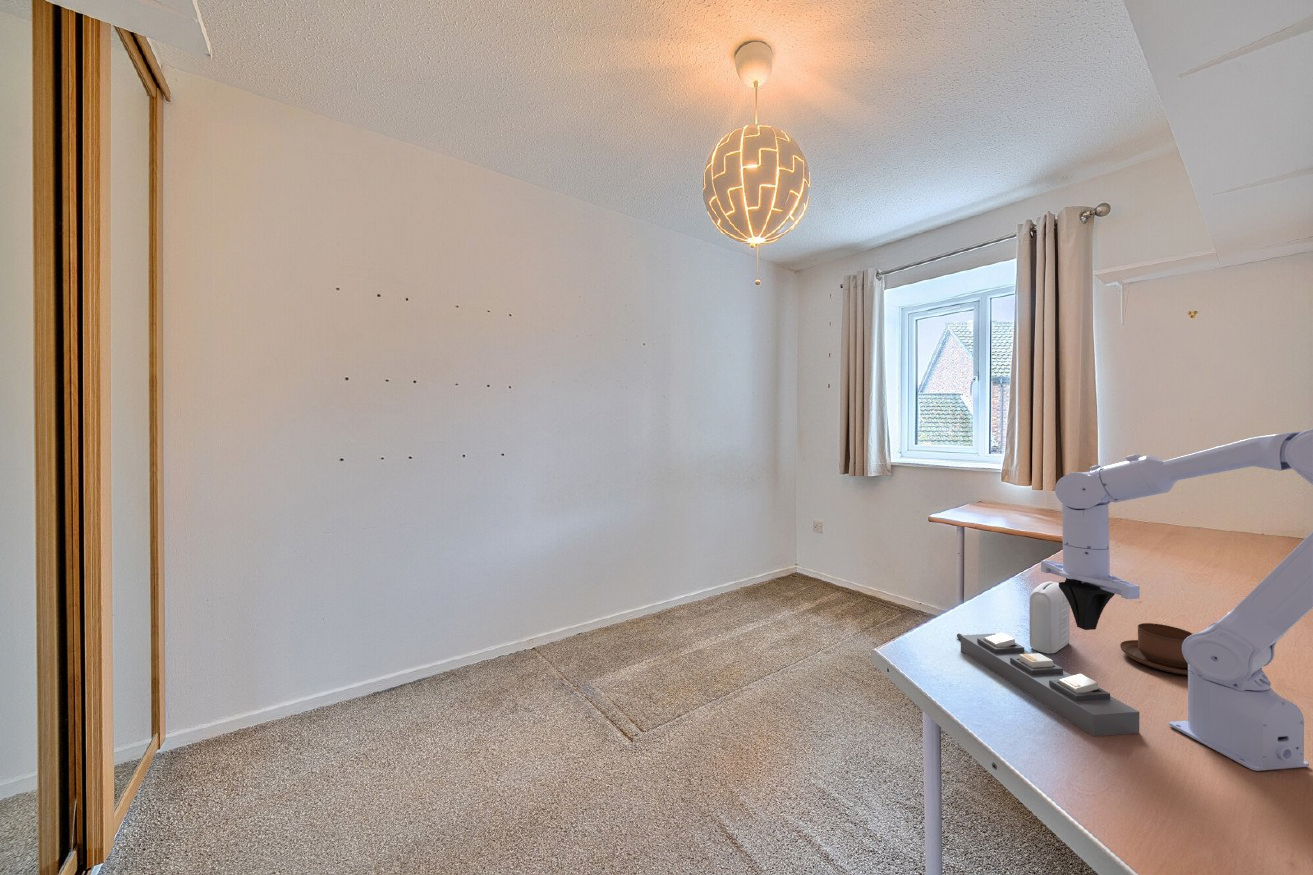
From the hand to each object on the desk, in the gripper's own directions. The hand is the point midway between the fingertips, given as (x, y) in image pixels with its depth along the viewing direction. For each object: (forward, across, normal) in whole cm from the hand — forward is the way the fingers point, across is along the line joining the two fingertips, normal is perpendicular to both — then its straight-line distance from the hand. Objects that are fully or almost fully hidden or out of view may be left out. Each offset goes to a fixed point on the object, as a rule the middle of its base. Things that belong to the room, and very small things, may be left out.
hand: (1086, 628), depth 79 cm
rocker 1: (+6, -9, -7) cm, 13 cm away
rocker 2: (+6, +6, -7) cm, 11 cm away
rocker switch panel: (+10, -5, -7) cm, 13 cm away
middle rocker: (+6, -2, -7) cm, 10 cm away
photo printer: (+10, -15, +8) cm, 20 cm away
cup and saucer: (+10, -5, +22) cm, 25 cm away
